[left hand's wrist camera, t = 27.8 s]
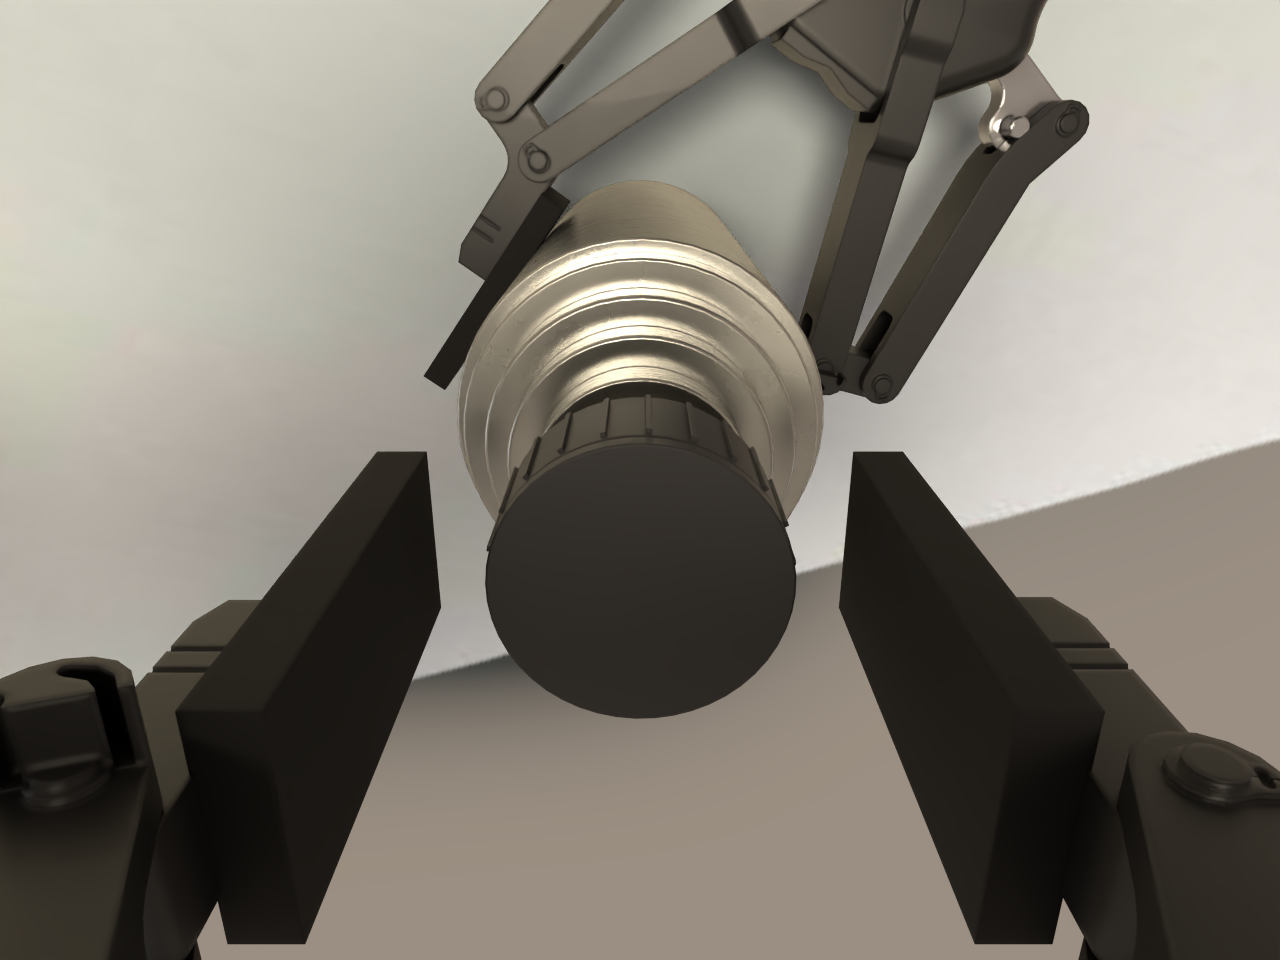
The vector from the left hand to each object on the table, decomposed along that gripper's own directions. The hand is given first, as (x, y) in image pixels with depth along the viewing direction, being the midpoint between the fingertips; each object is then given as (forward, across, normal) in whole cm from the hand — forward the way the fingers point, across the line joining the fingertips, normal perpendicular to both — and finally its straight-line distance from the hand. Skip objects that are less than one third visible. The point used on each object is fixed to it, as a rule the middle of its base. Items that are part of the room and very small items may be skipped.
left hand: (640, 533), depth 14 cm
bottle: (+22, 0, 0) cm, 22 cm away
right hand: (+15, -3, -4) cm, 16 cm away
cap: (-2, 0, 0) cm, 2 cm away
